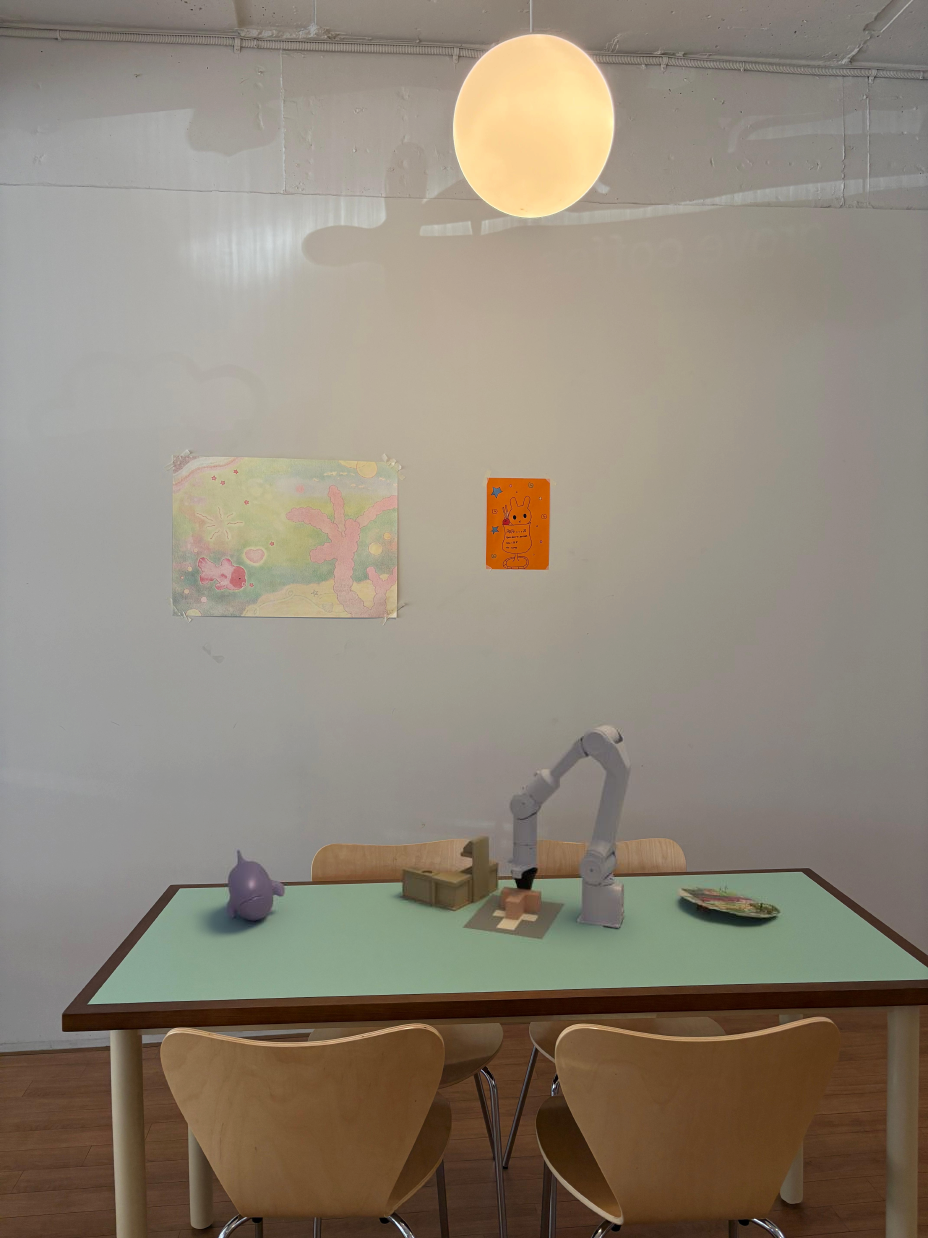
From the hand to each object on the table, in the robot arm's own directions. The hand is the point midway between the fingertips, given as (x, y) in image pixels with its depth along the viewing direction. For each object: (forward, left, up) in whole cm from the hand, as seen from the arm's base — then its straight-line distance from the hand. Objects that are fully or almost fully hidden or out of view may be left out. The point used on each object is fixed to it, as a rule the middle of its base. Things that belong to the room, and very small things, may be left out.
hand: (524, 899), depth 198 cm
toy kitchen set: (+19, -1, -2) cm, 19 cm away
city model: (-46, -15, -2) cm, 48 cm away
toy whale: (+57, +27, -2) cm, 63 cm away
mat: (0, +8, -1) cm, 8 cm away
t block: (0, +6, -1) cm, 6 cm away
